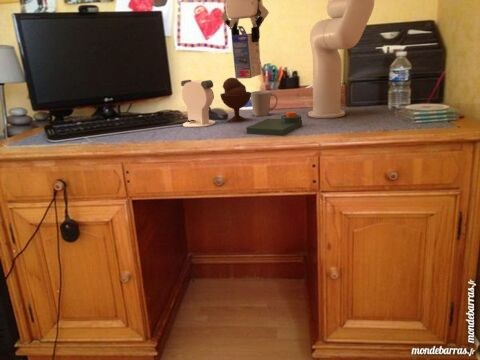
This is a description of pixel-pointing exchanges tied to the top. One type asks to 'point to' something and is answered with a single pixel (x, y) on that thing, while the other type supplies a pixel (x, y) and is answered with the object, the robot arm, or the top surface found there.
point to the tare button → (290, 114)
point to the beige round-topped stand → (198, 102)
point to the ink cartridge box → (246, 55)
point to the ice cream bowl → (235, 97)
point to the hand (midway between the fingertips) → (245, 42)
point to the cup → (262, 102)
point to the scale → (276, 126)
